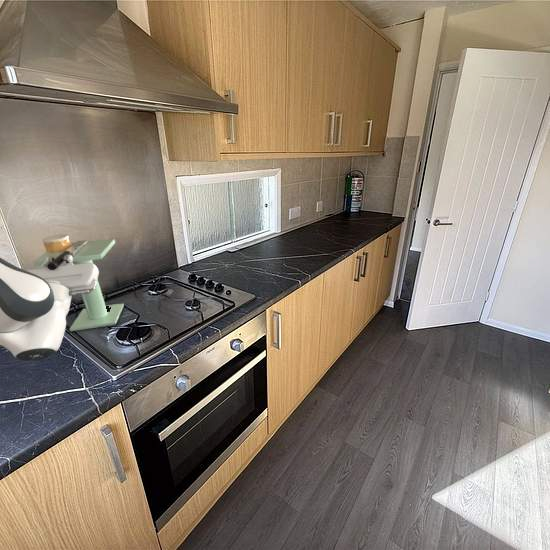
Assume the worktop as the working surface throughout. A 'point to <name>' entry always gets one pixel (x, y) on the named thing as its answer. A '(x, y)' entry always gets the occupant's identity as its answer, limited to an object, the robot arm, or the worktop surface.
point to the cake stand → (94, 300)
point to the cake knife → (70, 251)
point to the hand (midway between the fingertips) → (60, 257)
